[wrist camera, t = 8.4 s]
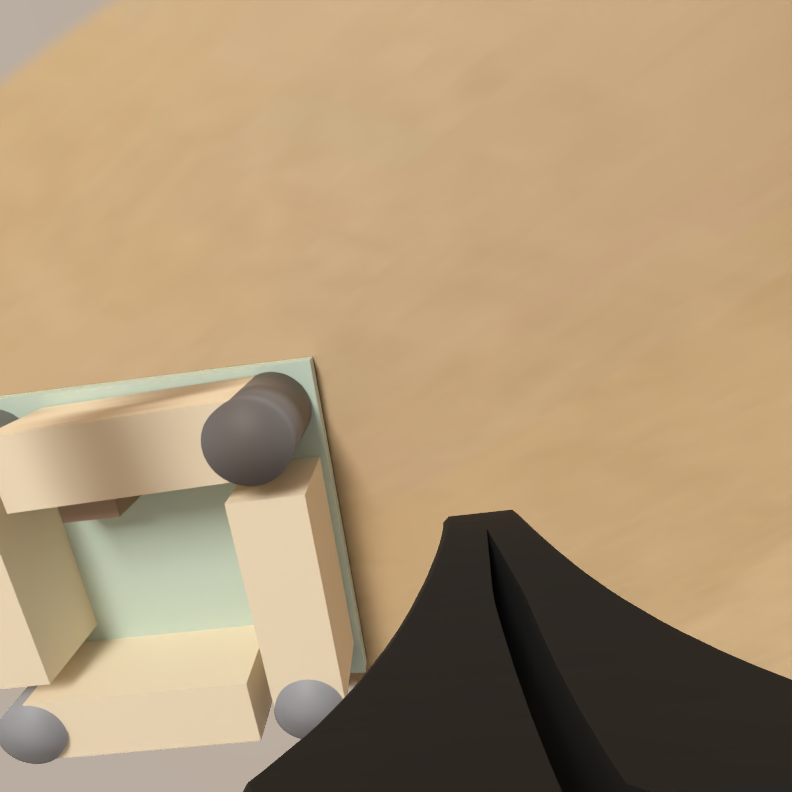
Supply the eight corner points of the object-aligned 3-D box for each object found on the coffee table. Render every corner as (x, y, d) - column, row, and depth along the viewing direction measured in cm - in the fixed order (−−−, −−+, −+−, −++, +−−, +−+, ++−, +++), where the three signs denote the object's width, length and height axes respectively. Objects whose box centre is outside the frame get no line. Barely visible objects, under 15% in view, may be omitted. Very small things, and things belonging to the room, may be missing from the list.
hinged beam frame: (366, 661, 23) (358, 743, 19) (66, 689, 23) (3, 773, 20) (312, 356, 19) (290, 385, 15) (-42, 401, 20) (-143, 438, 16)
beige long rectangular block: (303, 366, 18) (280, 394, 15) (318, 438, 19) (299, 479, 16) (41, 406, 19) (-34, 442, 16) (65, 474, 20) (-2, 521, 16)
